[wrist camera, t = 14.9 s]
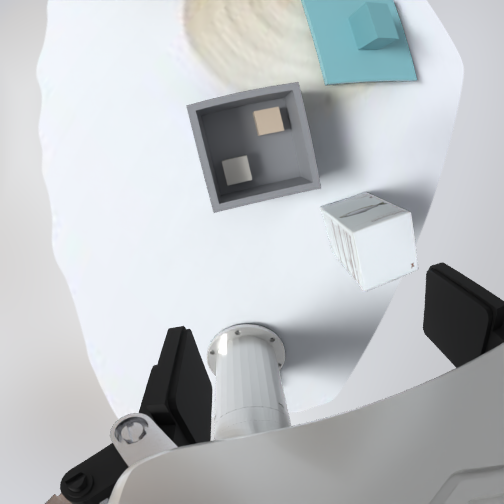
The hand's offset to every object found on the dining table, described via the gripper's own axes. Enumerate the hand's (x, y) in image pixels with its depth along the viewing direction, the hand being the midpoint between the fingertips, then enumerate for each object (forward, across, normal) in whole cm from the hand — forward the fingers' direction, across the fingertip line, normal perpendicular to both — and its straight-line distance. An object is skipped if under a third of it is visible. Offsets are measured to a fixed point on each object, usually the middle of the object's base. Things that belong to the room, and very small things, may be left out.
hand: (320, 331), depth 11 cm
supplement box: (+31, -12, +5) cm, 34 cm away
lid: (+30, -19, -21) cm, 41 cm away
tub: (+30, -1, -7) cm, 31 cm away
